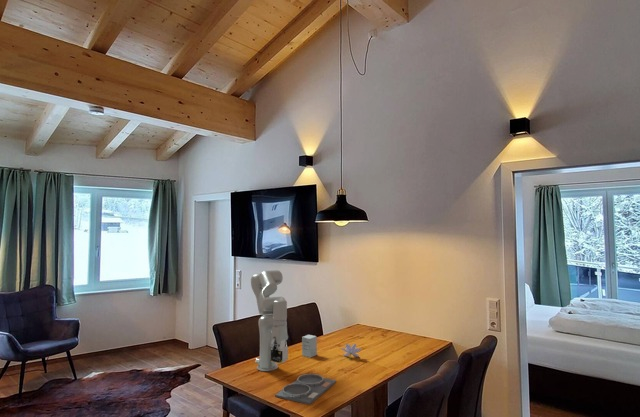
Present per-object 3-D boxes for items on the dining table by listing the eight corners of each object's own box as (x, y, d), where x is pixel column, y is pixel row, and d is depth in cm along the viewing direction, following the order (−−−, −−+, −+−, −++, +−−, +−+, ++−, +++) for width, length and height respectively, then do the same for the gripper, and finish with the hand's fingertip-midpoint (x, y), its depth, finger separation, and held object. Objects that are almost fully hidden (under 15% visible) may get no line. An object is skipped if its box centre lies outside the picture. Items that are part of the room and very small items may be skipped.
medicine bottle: (270, 362, 205) (270, 339, 205) (276, 357, 212) (276, 336, 212) (282, 363, 202) (282, 341, 203) (288, 359, 209) (288, 337, 209)
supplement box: (308, 353, 258) (308, 334, 259) (317, 355, 253) (317, 336, 254) (301, 355, 252) (301, 336, 253) (310, 358, 247) (309, 338, 248)
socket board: (275, 396, 189) (275, 394, 189) (304, 376, 216) (304, 374, 216) (310, 404, 180) (309, 402, 180) (336, 382, 207) (336, 380, 207)
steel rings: (277, 394, 189) (277, 391, 189) (305, 375, 215) (305, 372, 215) (301, 400, 182) (301, 396, 183) (327, 379, 208) (327, 376, 209)
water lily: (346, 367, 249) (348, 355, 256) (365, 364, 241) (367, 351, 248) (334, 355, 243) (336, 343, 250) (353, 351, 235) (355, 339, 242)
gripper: (282, 318, 217) (282, 348, 217) (265, 325, 202) (264, 358, 201) (293, 319, 214) (293, 350, 213) (276, 327, 198) (276, 360, 198)
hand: (279, 354), depth 207 cm, fingers closed on medicine bottle, 7 cm apart
